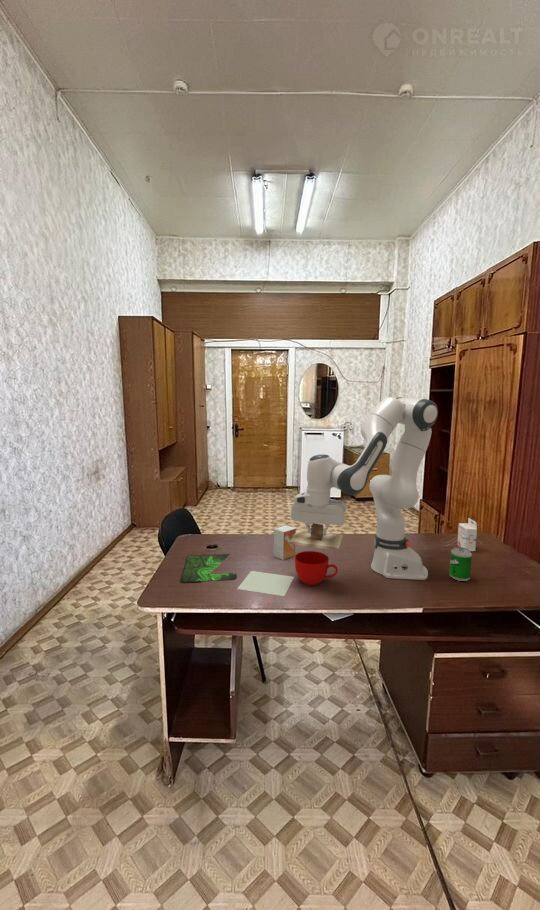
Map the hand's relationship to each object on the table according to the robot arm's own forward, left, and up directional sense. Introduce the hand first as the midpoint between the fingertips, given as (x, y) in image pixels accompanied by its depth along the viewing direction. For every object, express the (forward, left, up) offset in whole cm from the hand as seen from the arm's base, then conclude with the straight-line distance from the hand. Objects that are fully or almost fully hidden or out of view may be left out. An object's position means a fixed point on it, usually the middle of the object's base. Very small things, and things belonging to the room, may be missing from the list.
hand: (317, 533), depth 143 cm
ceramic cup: (0, 0, -20) cm, 20 cm away
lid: (0, 0, -3) cm, 3 cm away
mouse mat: (+45, -1, -20) cm, 49 cm away
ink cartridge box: (-63, -56, -20) cm, 87 cm away
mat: (+18, +6, -20) cm, 27 cm away
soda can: (-54, -21, -20) cm, 61 cm away
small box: (+18, -22, -20) cm, 35 cm away
